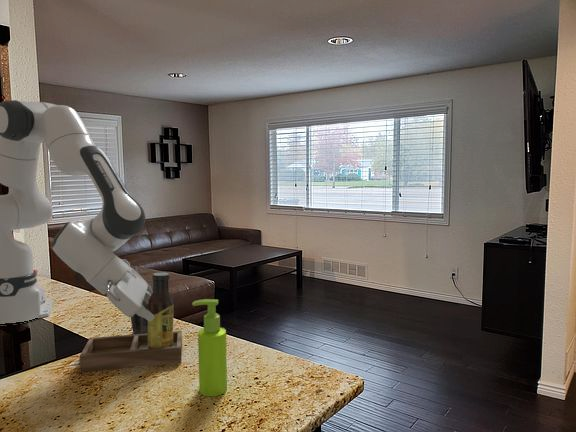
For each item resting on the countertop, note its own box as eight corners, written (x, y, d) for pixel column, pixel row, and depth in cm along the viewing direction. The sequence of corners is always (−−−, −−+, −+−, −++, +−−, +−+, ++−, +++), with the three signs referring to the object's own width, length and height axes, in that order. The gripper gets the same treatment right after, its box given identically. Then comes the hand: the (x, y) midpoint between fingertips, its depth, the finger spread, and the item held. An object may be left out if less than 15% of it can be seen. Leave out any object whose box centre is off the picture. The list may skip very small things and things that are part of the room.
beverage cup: (160, 330, 129) (157, 263, 127) (144, 340, 122) (141, 269, 120) (139, 327, 132) (136, 262, 129) (122, 336, 125) (119, 267, 122)
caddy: (90, 352, 114) (89, 337, 114) (182, 345, 119) (181, 330, 119) (80, 372, 104) (79, 356, 103) (181, 363, 109) (180, 347, 108)
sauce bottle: (165, 357, 109) (165, 278, 107) (142, 354, 110) (141, 276, 108) (177, 346, 115) (177, 272, 113) (155, 344, 116) (155, 270, 114)
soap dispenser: (196, 383, 99) (194, 296, 96) (227, 382, 99) (226, 295, 97) (192, 397, 93) (190, 305, 90) (226, 396, 93) (224, 304, 91)
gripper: (113, 277, 98) (160, 317, 101) (126, 258, 118) (165, 291, 121) (93, 298, 98) (141, 337, 101) (109, 275, 118) (149, 308, 121)
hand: (154, 312), depth 111 cm, fingers open, 8 cm apart
